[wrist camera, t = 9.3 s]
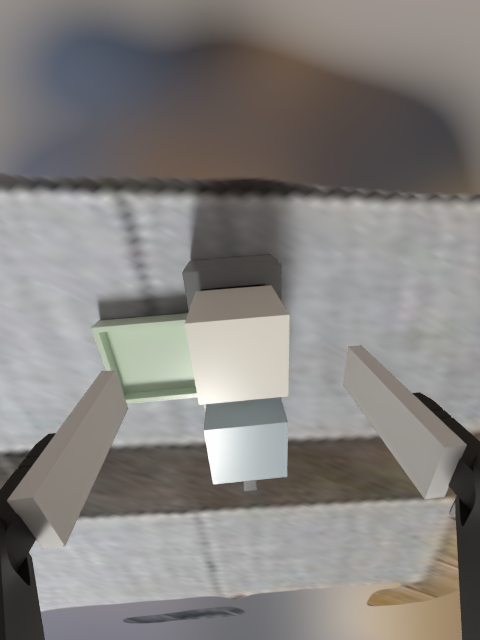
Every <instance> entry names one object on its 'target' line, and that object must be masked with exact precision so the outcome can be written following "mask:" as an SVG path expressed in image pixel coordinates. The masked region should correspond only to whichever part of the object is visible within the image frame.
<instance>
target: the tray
mask: <svg viewBox="0 0 480 640" xmlns="http://www.w3.org/2000/svg"><path fill="white" fill-rule="evenodd" d="M187 315H188V313H182V314H170V315H158V316H146V317H134V318H123V319H111V320H99V321H98V322H97V323H96V324H95V325H93V326H92V327H91V330H92V333H93V336H94V339H95V341H96V344H97V347H98V350H99V353H100V356H101V358H102V361H103V364H104V367H105V370H106V371H110V370H116V373H117V376H118V379H119V382H120V385H121V388H122V391H123V394H124V397H125V400H126V403H127V404H131V403H141V402H152V401H163V400H173V399H184V398H195V397H197V391H196V385H195V380H194V374H193V368H192V362H191V357H190V351H189V345H188V340H187V334H186V328H185V321H186V318H187Z"/></svg>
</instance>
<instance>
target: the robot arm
mask: <svg viewBox="0 0 480 640" xmlns="http://www.w3.org/2000/svg"><path fill="white" fill-rule="evenodd" d="M343 386H344V387H345V388H346V390H347V391H348V393H349V394H350V395H351V397H352V398H353V400H354V401H355V402H356V404H357V405H358V407H359V408H360V409H361V411H362V412H363V414H364V415H365V416H366V418H367V419H368V420H369V422H370V423H371V425H372V426H373V427H374V429H375V430H376V432H377V433H378V434H379V436H380V437H381V439H382V440H383V441H384V443H385V444H386V446H387V447H388V448H389V450H390V451H391V453H392V454H393V455H394V457H395V458H396V460H397V461H398V462H399V464H400V465H401V467H402V468H403V469H404V471H405V472H406V474H407V475H408V476H409V478H410V479H411V481H412V482H413V483H414V485H415V486H416V488H417V489H418V490H419V492H420V493H421V495H422V496H423V497H424V499H430V498H437V497H444V496H445V494H446V492H447V490H448V487H449V486H450V488H451V489H452V490H453V491H454V492H455V494H456V495H457V497H456V499H455V501H454V503H453V505H452V507H451V510H450V513H449V515H451V516H453V515H454V513H455V512H456V530H457V549H458V568H459V586H460V605H461V622H462V640H480V441H479V440H477V439H476V438H475V437H474V436H473V435H472V434H471V433H470V432H468V431H467V430H466V429H465V428H464V427H463V426H462V425H460V424H459V423H458V422H457V421H456V420H455V419H454V418H451V416H450V415H449V414H448V413H447V412H446V411H445V410H444V411H443V409H442V408H441V407H440V406H439V405H438V404H437V403H436V402H434V401H433V400H432V399H430V398H428V397H427V396H425V395H423V394H421V393H411V392H410V391H409V390H408V389H407V388H406V387H405V386H404V385H403V384H402V383H401V382H400V381H399V380H398V379H396V378H395V377H394V376H393V375H392V374H391V373H390V372H389V371H388V370H387V369H386V368H385V367H384V366H383V365H382V364H380V363H379V362H378V361H377V360H376V359H375V358H374V357H373V356H372V355H371V354H370V353H369V352H368V351H367V350H366V349H365V348H363V347H362V346H361V345H360V346H350V347H348V352H347V360H346V368H345V376H344V383H343ZM127 410H128V406H127V403H126V400H125V397H124V394H123V391H122V388H121V385H120V382H119V379H118V376H117V373H116V370H110V371H101V373H100V374H99V375H98V377H97V378H96V379H95V381H94V382H93V384H92V385H91V386H90V388H89V389H88V390H87V392H86V393H85V395H84V396H83V397H82V399H81V400H80V401H79V403H78V404H77V405H76V407H75V408H74V410H73V411H72V412H71V414H70V415H69V416H68V418H67V419H66V420H65V422H64V423H63V425H62V426H61V427H60V429H59V430H58V431H57V433H54V434H48V435H47V436H45V437H44V438H43V439H42V440H41V441H40V442H38V443H37V444H36V445H35V446H34V447H33V449H32V450H31V451H30V452H29V454H28V455H27V456H26V459H24V460H23V461H22V463H21V464H20V465H19V467H18V469H16V470H15V472H14V473H13V474H12V475H11V477H10V478H9V479H8V481H7V482H6V483H5V484H4V486H3V487H2V488H1V489H0V640H45V638H44V632H43V625H42V619H41V612H40V606H39V600H38V593H37V587H36V581H35V574H34V568H33V562H32V557H31V555H30V554H29V551H30V549H31V547H32V546H33V544H34V542H35V540H36V541H37V542H38V544H39V545H40V547H41V548H42V549H47V548H55V547H62V546H65V545H66V543H67V541H68V538H69V536H70V534H71V532H72V530H73V527H74V525H75V523H76V521H77V519H78V517H79V514H80V512H81V510H82V508H83V506H84V504H85V501H86V499H87V497H88V495H89V493H90V490H91V488H92V486H93V484H94V482H95V480H96V477H97V475H98V473H99V471H100V469H101V466H102V464H103V462H104V460H105V458H106V456H107V453H108V451H109V449H110V447H111V445H112V443H113V440H114V438H115V436H116V434H117V432H118V429H119V427H120V425H121V423H122V421H123V419H124V416H125V414H126V412H127Z"/></svg>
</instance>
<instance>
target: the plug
mask: <svg viewBox="0 0 480 640" xmlns="http://www.w3.org/2000/svg"><path fill="white" fill-rule="evenodd" d="M289 319H290V315H289V313H288V311H287V310H286V308H285V307H284V305H283V303H282V302H281V300H280V299H279V297H278V295H277V294H276V292H275V291H274V289H273V287H272V286H271V285H268V286H256V287H254V285H247V286H235V287H222V288H212V290H207V291H196V292H195V295H194V298H193V301H192V304H191V306H190V309H189V312H188V315H187V318H186V321H185V328H186V334H187V340H188V345H189V351H190V357H191V362H192V368H193V374H194V380H195V385H196V391H197V397H198V402H199V405H203V404H213V403H224V402H234V401H245V400H255V399H266V398H277V397H287V396H288V375H289Z"/></svg>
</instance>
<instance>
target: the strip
mask: <svg viewBox="0 0 480 640" xmlns="http://www.w3.org/2000/svg"><path fill="white" fill-rule="evenodd" d="M182 274H183V280H184V286H185V292H186V298H187V304H188V310H189V309H190V306H191V304H192V301H193V298H194V295H195V292H196V291H207V290H212V288H222V287H235V286H247V285H254V287H256V286H268V285H271V286H272V287H273V289H274V291H275V292H276V294H277V295H278V297H279V299H280V300H281V264H280V263H279V262H278V261H277V260H276V259H275V258H274V257H273V256H272V255H271V254H269V255H256V256H244V257H231V258H218V259H205V260H193V261H190V262H189V263H188V265H187V266H186V268H185V269H184V271H183V272H182ZM204 407H205V423H204V434H205V440H206V446H207V451H208V457H209V463H210V469H211V474H212V480H213V484H221V483H231V482H240V481H244V491H251V490H257V489H256V480H260V479H269V478H279V477H287V449H288V421H287V417H286V414H285V411H284V407H283V404H282V401H281V397H277V398H266V399H255V400H245V401H234V402H224V403H213V404H204Z"/></svg>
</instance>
